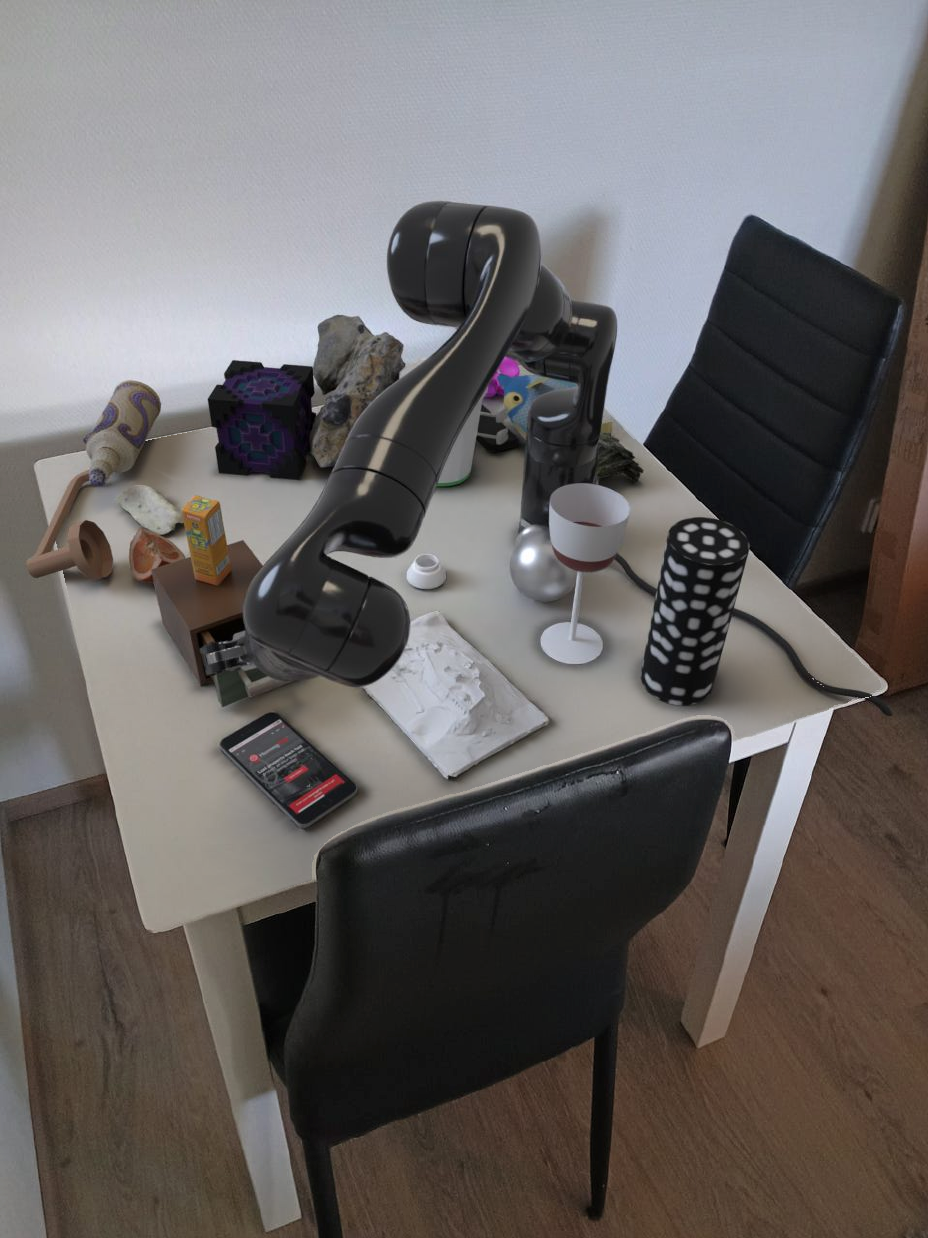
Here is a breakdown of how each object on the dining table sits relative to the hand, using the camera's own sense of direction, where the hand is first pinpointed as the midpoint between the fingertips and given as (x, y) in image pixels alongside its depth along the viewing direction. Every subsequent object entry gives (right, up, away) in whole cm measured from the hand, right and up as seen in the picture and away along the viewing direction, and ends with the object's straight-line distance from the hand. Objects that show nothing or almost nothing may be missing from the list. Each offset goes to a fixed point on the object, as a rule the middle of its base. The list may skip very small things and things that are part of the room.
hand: (275, 645), depth 96 cm
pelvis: (+22, +46, +67) cm, 84 cm away
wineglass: (+31, 0, +25) cm, 40 cm away
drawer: (-6, -3, +19) cm, 20 cm away
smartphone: (0, -13, +9) cm, 16 cm away
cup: (+15, +24, +53) cm, 60 cm away
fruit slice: (-21, +8, +33) cm, 40 cm away
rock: (+8, +33, +51) cm, 61 cm away
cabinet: (-10, 0, +24) cm, 26 cm away
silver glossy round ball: (+31, +5, +28) cm, 42 cm away
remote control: (+21, +32, +62) cm, 73 cm away
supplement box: (-11, +7, +19) cm, 23 cm away
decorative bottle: (-29, +35, +61) cm, 76 cm away
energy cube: (-11, +27, +55) cm, 62 cm away
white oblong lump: (-25, +17, +42) cm, 52 cm away
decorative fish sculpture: (+33, +41, +61) cm, 80 cm away
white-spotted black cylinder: (+43, -5, +20) cm, 48 cm away
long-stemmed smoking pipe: (-31, +13, +40) cm, 52 cm away
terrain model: (+15, -6, +18) cm, 24 cm away
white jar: (+13, +7, +33) cm, 37 cm away
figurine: (+25, +31, +54) cm, 67 cm away
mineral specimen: (+38, +26, +46) cm, 65 cm away
